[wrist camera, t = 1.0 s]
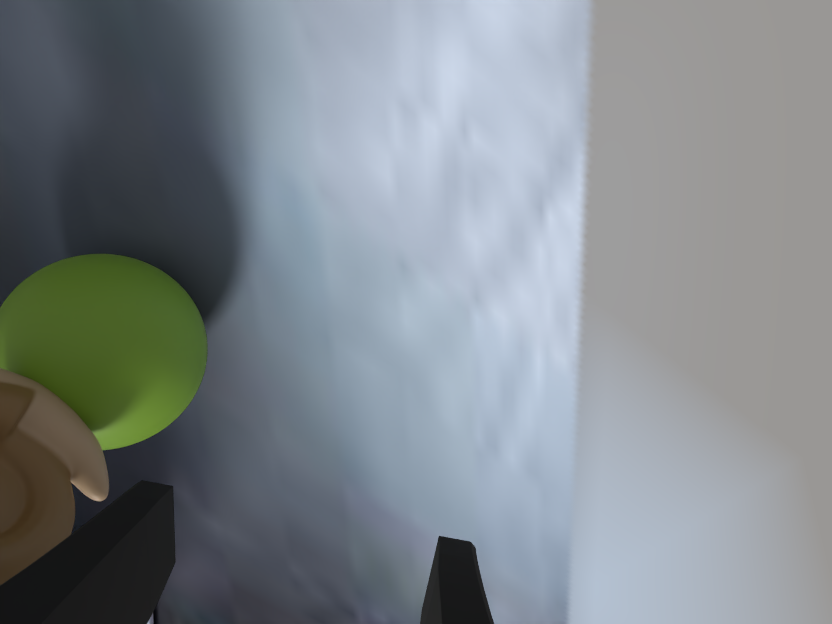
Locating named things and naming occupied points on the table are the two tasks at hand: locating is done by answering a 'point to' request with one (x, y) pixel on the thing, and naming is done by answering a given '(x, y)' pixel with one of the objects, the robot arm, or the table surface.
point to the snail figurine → (85, 386)
